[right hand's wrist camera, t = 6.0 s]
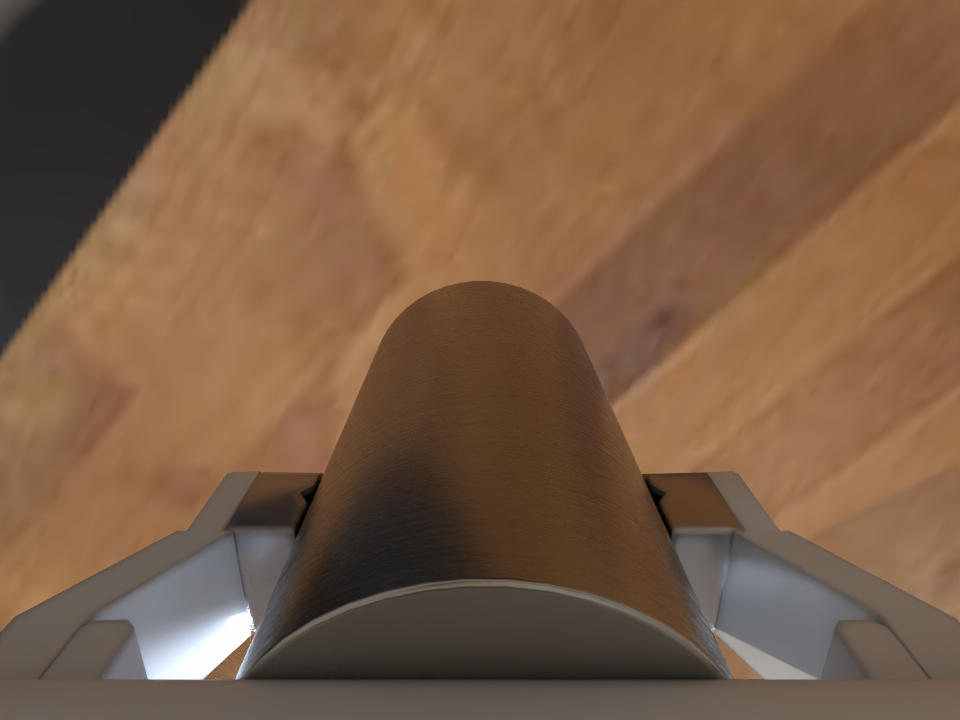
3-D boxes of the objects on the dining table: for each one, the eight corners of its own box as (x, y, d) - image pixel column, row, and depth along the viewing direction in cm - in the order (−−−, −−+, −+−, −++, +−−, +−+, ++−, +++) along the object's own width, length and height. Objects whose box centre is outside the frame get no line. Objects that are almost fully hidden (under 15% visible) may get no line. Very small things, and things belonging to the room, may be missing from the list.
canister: (622, 430, 15) (822, 877, 6) (434, 507, 16) (378, 997, 7) (537, 241, 13) (647, 489, 5) (331, 338, 14) (89, 708, 5)
